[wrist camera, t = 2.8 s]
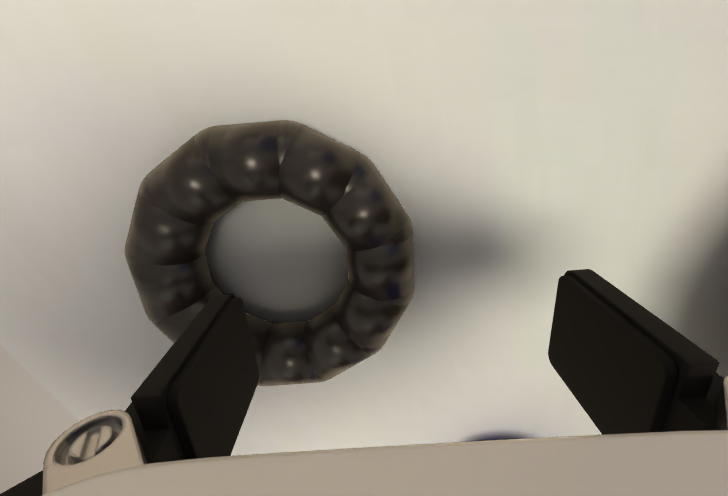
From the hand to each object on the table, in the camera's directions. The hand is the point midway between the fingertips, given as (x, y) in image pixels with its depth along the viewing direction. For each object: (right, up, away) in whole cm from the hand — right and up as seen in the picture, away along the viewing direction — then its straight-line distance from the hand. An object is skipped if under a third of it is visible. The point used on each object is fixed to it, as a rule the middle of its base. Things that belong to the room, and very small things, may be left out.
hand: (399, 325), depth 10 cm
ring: (-5, +1, +4) cm, 7 cm away
